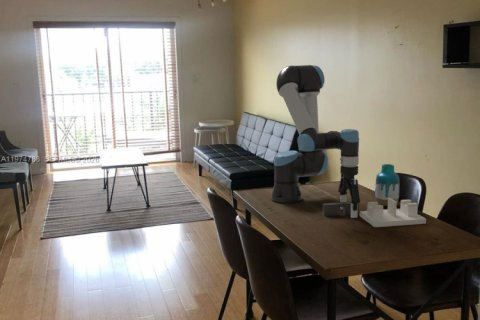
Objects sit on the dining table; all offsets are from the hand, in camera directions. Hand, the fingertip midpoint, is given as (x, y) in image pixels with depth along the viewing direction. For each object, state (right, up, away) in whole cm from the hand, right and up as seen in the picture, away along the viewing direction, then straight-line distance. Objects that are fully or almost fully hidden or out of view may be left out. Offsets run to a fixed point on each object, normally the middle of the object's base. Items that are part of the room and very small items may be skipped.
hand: (348, 213), depth 219 cm
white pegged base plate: (+16, -2, -10) cm, 19 cm away
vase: (+20, +2, +11) cm, 23 cm away
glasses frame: (-3, 0, 0) cm, 4 cm away
